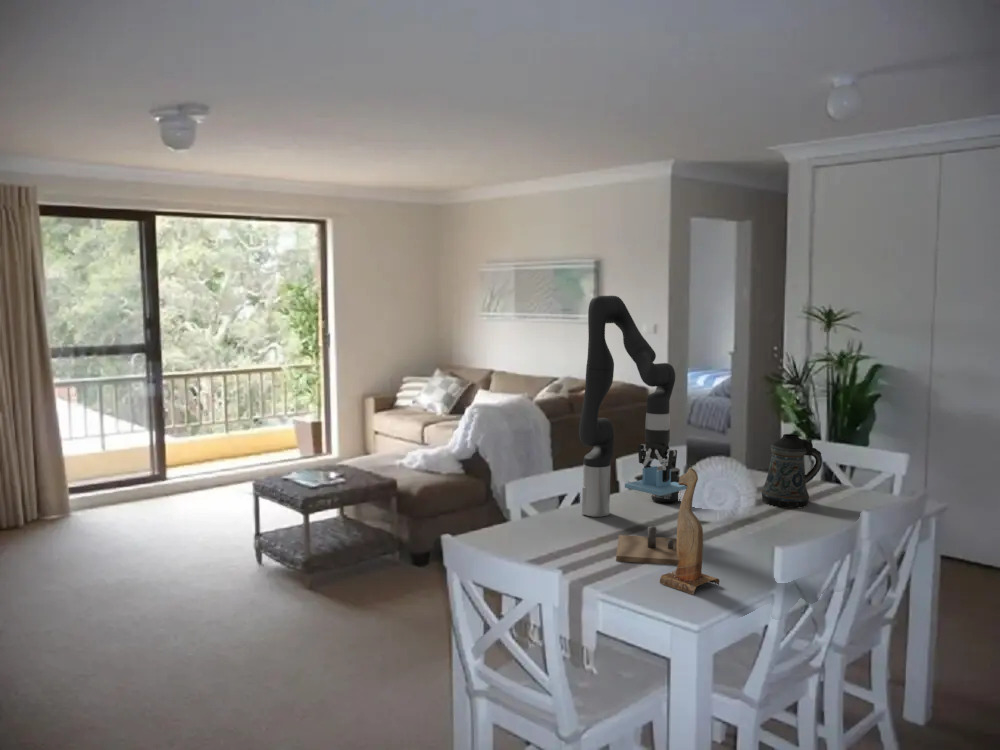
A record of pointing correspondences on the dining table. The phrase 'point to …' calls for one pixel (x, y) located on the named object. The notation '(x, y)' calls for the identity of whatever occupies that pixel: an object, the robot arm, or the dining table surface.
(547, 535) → the dining table surface
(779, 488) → the beer stein
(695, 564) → the bird sculpture
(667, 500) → the supplement container
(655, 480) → the flange plate
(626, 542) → the post board
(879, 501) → the dining table surface
